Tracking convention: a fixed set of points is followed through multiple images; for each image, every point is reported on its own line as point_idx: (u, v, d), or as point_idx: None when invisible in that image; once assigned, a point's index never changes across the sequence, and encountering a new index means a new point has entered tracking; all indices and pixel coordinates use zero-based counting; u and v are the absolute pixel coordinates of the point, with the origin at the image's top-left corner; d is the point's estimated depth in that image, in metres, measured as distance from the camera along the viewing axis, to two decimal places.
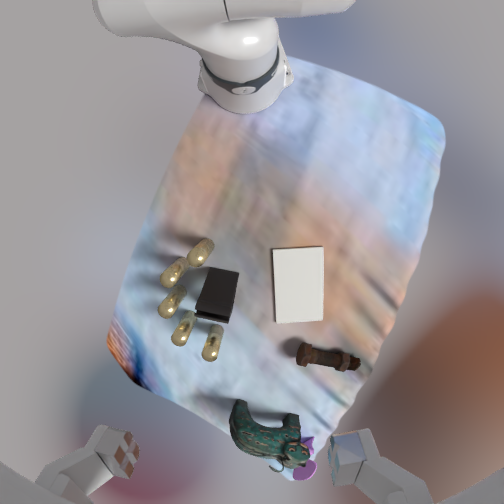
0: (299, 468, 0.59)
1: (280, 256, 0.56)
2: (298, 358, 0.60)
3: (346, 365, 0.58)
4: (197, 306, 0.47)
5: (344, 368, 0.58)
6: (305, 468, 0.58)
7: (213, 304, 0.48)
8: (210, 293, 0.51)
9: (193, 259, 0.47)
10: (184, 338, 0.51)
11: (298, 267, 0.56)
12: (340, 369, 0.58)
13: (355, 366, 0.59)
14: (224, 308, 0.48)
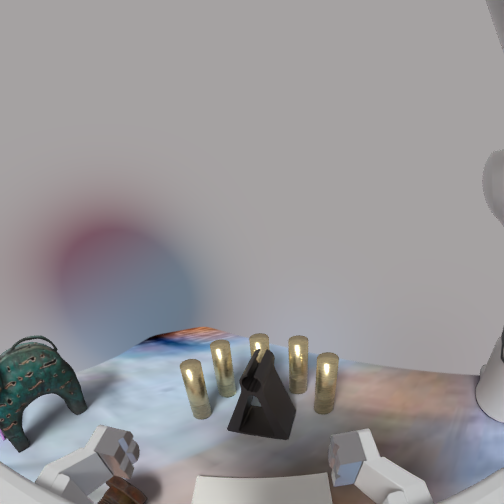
0: None
1: (317, 482, 0.24)
2: None
3: None
4: (269, 352, 0.36)
5: None
6: None
7: (269, 369, 0.34)
8: (275, 383, 0.36)
9: (326, 357, 0.36)
10: (220, 348, 0.41)
11: None
12: None
13: None
14: (264, 376, 0.32)
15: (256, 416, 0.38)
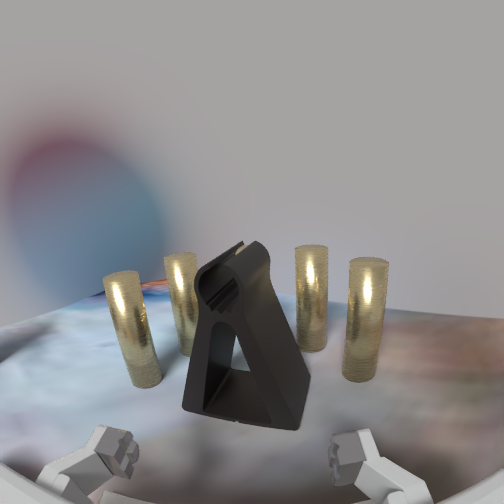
0: None
1: None
2: None
3: None
4: (260, 245, 0.20)
5: None
6: None
7: (259, 270, 0.18)
8: (273, 310, 0.20)
9: (366, 261, 0.20)
10: (179, 259, 0.25)
11: None
12: None
13: None
14: (246, 274, 0.16)
15: (238, 386, 0.22)
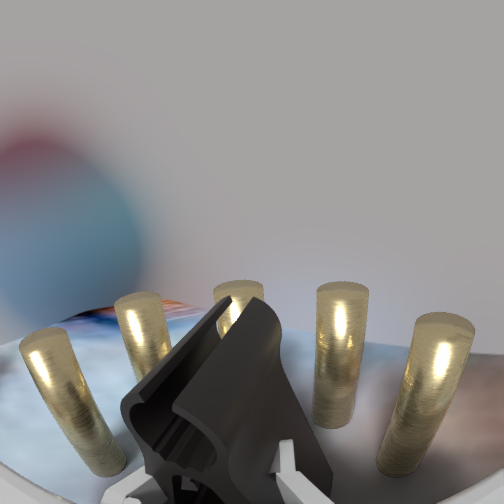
0: None
1: None
2: None
3: None
4: (264, 308, 0.10)
5: None
6: None
7: (263, 372, 0.08)
8: (286, 418, 0.10)
9: (440, 323, 0.10)
10: (133, 308, 0.15)
11: None
12: None
13: None
14: (234, 408, 0.06)
15: None
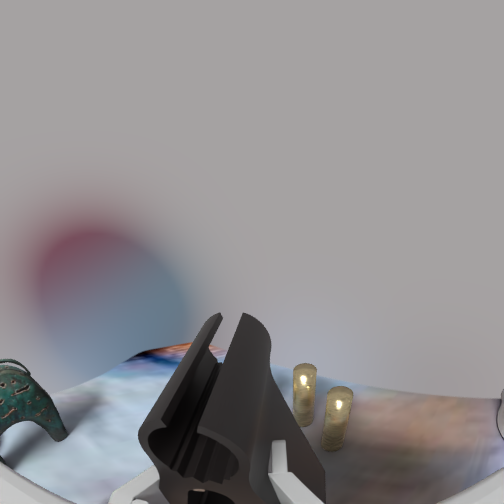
0: None
1: None
2: None
3: None
4: (254, 323, 0.11)
5: None
6: None
7: (263, 384, 0.08)
8: (281, 423, 0.10)
9: (338, 392, 0.29)
10: None
11: None
12: None
13: None
14: (248, 421, 0.06)
15: (228, 497, 0.12)
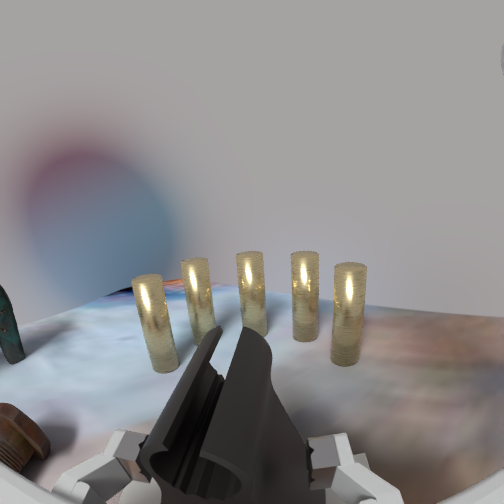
0: None
1: None
2: None
3: None
4: (255, 337, 0.10)
5: None
6: None
7: (265, 401, 0.08)
8: (282, 436, 0.10)
9: (348, 265, 0.25)
10: (194, 264, 0.30)
11: None
12: None
13: None
14: (251, 442, 0.06)
15: None
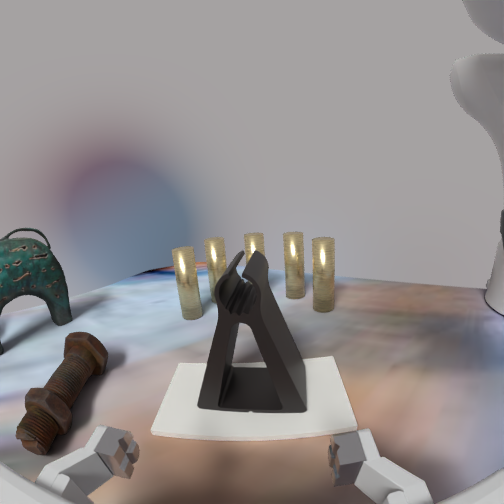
0: None
1: (322, 365, 0.26)
2: None
3: (39, 398, 0.16)
4: (260, 254, 0.23)
5: (33, 395, 0.16)
6: None
7: (265, 275, 0.21)
8: (274, 309, 0.22)
9: (321, 238, 0.38)
10: (214, 240, 0.42)
11: None
12: (34, 389, 0.17)
13: (27, 424, 0.13)
14: (259, 280, 0.19)
15: (243, 381, 0.24)
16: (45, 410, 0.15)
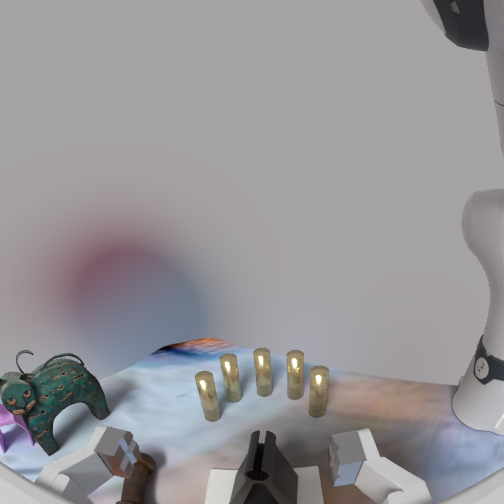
0: None
1: (309, 473, 0.31)
2: None
3: None
4: (270, 434, 0.28)
5: None
6: None
7: (274, 454, 0.26)
8: (279, 461, 0.28)
9: (318, 369, 0.43)
10: (229, 361, 0.47)
11: None
12: (119, 502, 0.22)
13: None
14: (271, 466, 0.24)
15: (257, 487, 0.29)
16: None
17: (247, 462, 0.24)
